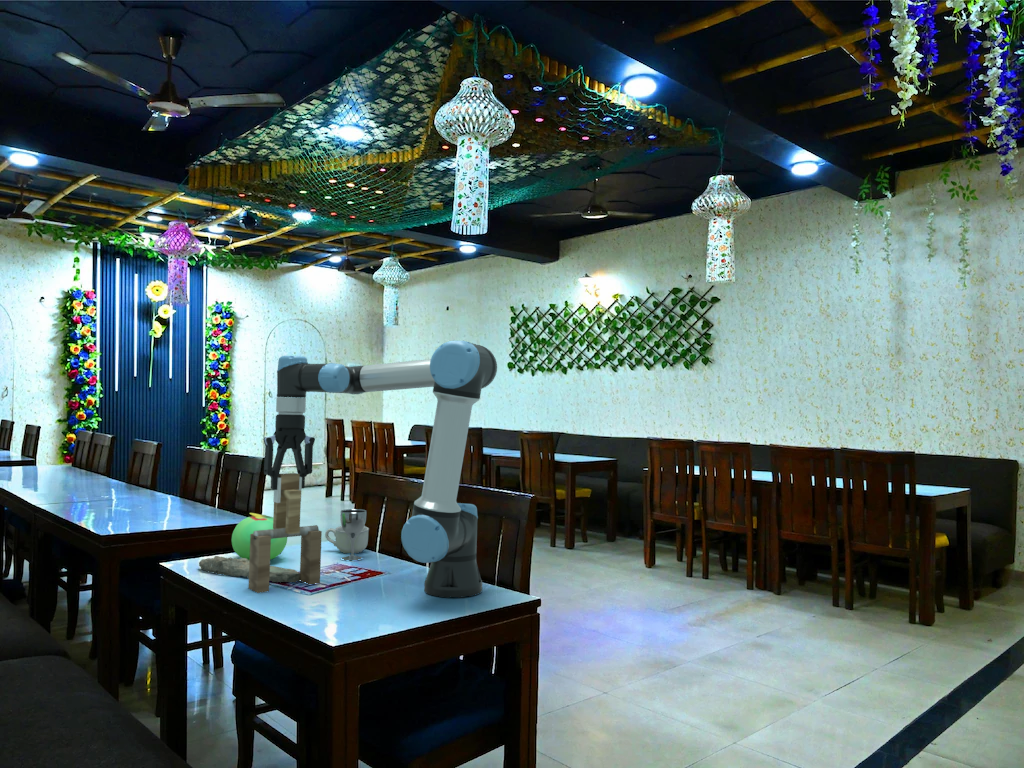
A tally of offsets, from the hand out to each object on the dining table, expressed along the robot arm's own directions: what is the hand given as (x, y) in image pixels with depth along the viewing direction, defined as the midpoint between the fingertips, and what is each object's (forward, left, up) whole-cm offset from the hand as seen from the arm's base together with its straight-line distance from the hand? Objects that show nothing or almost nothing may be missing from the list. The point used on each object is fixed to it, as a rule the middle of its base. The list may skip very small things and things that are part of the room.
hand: (287, 501), depth 190 cm
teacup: (+32, -35, -22) cm, 52 cm away
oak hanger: (0, 0, -8) cm, 8 cm away
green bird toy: (+34, -7, -22) cm, 41 cm away
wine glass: (+21, -31, -22) cm, 44 cm away
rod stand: (0, 0, -22) cm, 22 cm away
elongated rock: (+18, +3, -23) cm, 29 cm away
